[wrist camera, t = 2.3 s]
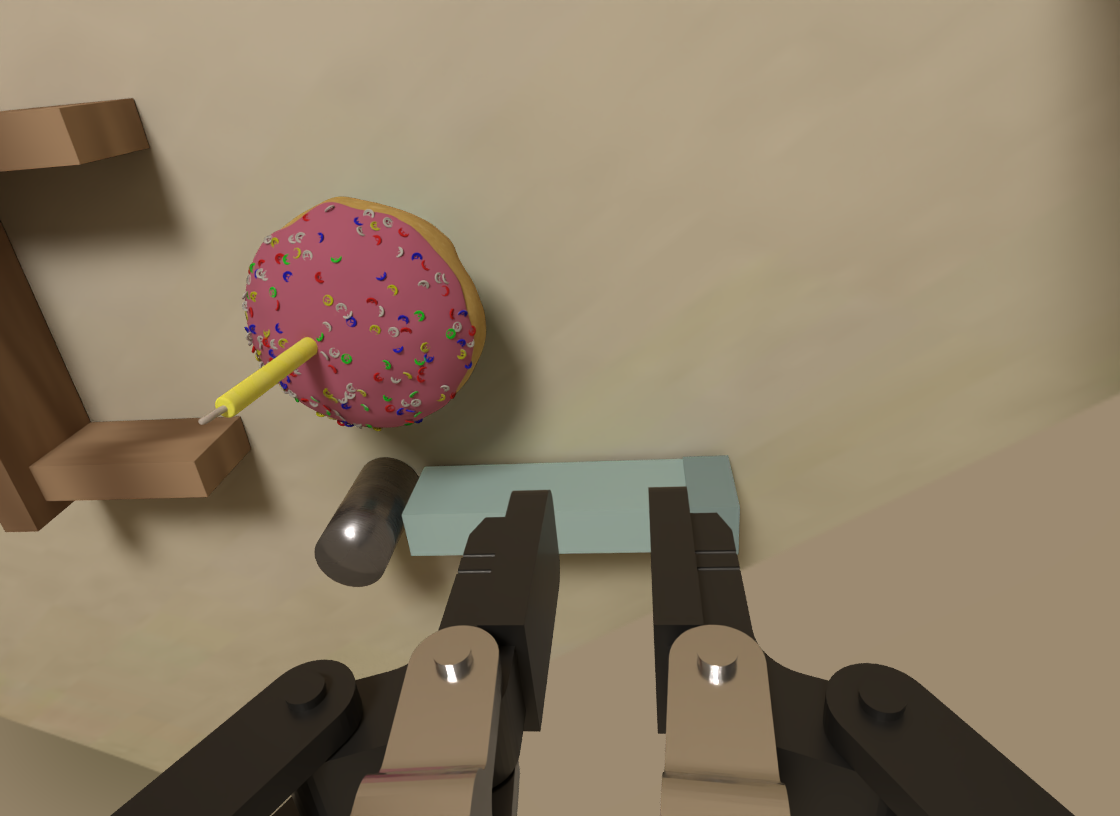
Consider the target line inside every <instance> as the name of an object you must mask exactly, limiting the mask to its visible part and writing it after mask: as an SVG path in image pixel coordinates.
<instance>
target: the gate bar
mask: <svg viewBox="0 0 1120 816" xmlns="http://www.w3.org/2000/svg"><path fill="white" fill-rule="evenodd" d="M679 486H687V491H688V499H689V507H690V513H718V514H719V515H720V517H721V518H722V519H723V520H724V521H725V522H726V523H727V525H728V526H729V527H730V528H731V529H732V532H733V537H734V542H735V547H736V554H738V551H739V519H740V505H739V501H738V496H737V492H736V488H735V483H734V479H733V475H732V470H731V466H730V462H729V457H728V456H697V457H683V459H660V460H628V461H595V462H562V463H529V464H496V465H463V466H430V467H424V469H423V471H422V473H421V475H420V477H419V479H418V482H417V484H416V486H415V488H414V490H413V492H412V494H411V496H410V498H409V501H408V503H407V505H406V507H405V509H404V511H403V513H402V518H403V523H404V527H405V531H406V535H407V540H408V544H409V548H410V552H411V556H436V555H463V553H464V549H465V546H466V543H467V540H468V537H469V534H470V533H471V532H472V531H473V530H474V529H475V528H476V527H477V526H478V525H479V524H480V523H481V522H482V520H483V519H484V518H485V517H505V515H506V511H507V507H508V503H509V499H510V495H511V493H512V491H519V490H551V493H552V497H553V505H554V514H555V523H556V531H557V540H558V549H559V554H569V553H636V552H651V545H650V519H649V493H648V487H679Z"/></svg>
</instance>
